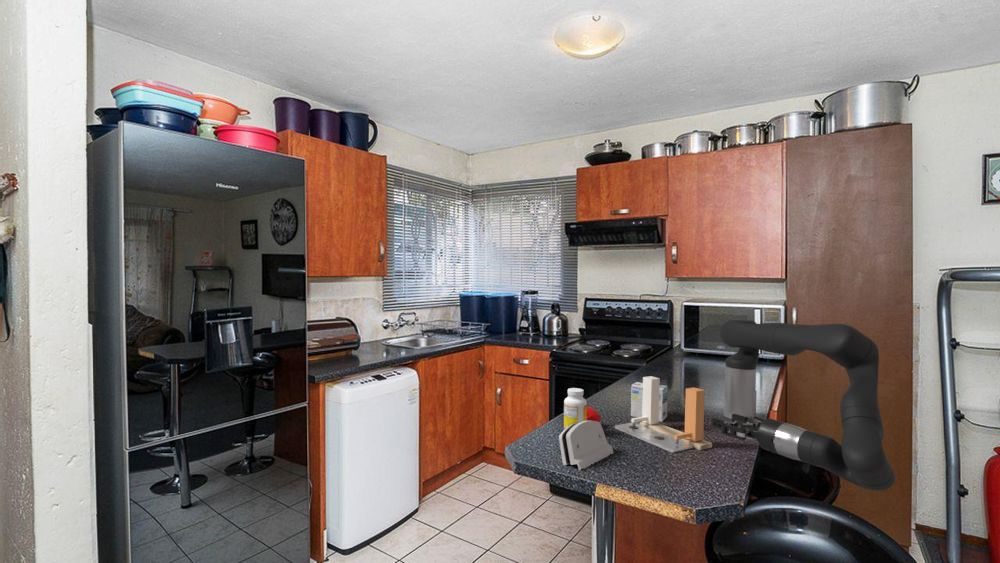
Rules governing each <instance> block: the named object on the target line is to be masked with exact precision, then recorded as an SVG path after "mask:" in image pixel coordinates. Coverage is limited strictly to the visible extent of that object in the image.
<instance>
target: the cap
mask: <svg viewBox="0 0 1000 563" xmlns="http://www.w3.org/2000/svg"><path fill="white" fill-rule="evenodd" d="M586 421H597V422H600V423H601V416H600V414H599V413H598V411H596V410H595V409H594V408H592V407H590V406H587V410H586Z"/></svg>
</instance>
